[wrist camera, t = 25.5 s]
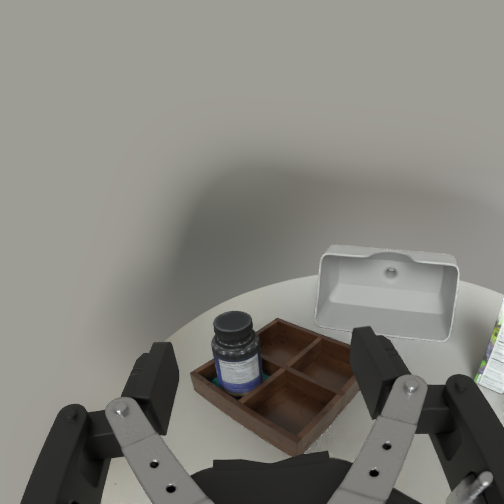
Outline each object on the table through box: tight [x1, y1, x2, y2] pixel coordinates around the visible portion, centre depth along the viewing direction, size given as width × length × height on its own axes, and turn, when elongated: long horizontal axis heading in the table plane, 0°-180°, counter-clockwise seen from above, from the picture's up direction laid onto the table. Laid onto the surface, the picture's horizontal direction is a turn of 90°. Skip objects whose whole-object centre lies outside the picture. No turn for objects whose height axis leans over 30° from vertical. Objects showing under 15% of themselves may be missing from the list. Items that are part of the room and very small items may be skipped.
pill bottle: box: [211, 311, 263, 399], centre depth 39 cm, size 6×6×11 cm
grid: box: [190, 318, 360, 457], centre depth 40 cm, size 18×18×4 cm
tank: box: [314, 245, 460, 342], centre depth 53 cm, size 25×16×12 cm, turn 63°
